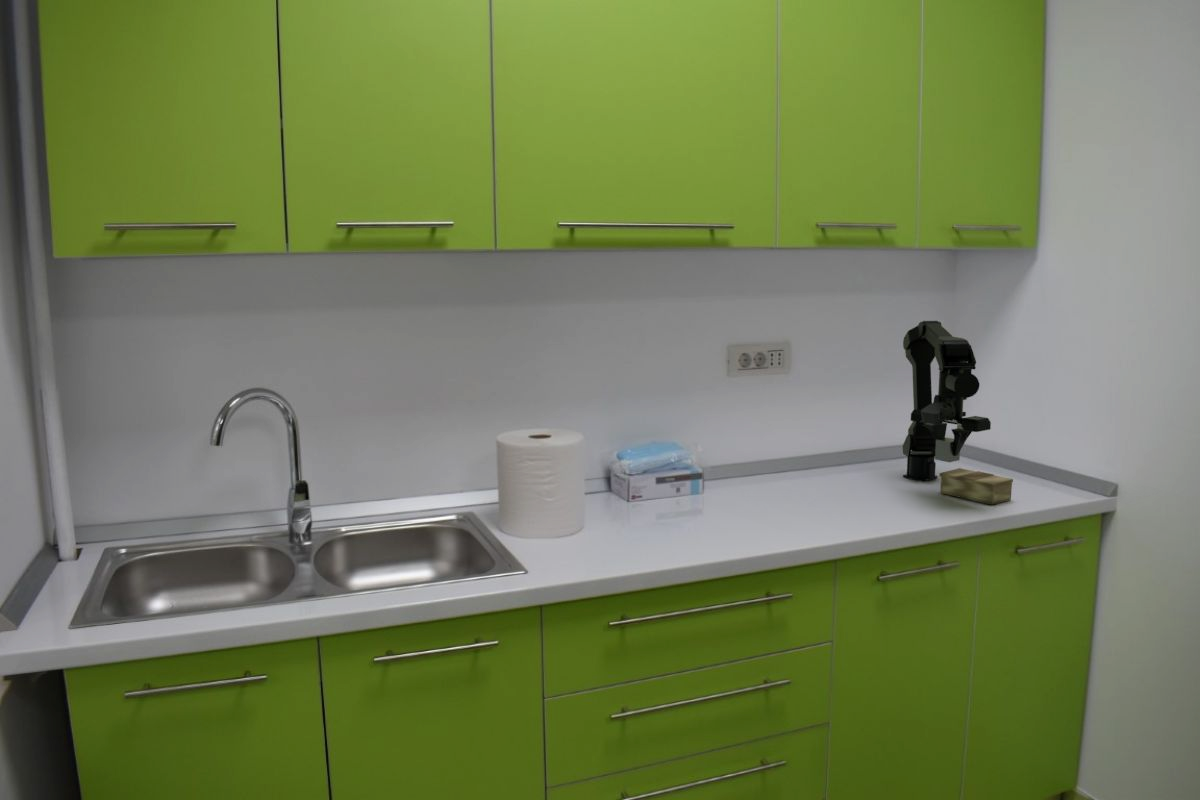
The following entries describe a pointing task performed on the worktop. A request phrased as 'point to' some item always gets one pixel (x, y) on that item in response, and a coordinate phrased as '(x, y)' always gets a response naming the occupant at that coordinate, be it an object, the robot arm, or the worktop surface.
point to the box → (976, 491)
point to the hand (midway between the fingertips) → (947, 454)
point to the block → (945, 450)
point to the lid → (976, 477)
